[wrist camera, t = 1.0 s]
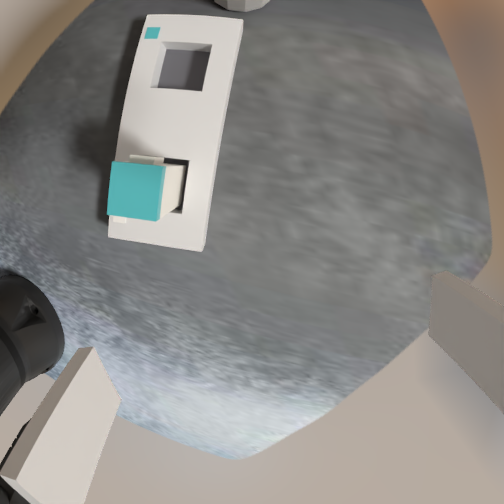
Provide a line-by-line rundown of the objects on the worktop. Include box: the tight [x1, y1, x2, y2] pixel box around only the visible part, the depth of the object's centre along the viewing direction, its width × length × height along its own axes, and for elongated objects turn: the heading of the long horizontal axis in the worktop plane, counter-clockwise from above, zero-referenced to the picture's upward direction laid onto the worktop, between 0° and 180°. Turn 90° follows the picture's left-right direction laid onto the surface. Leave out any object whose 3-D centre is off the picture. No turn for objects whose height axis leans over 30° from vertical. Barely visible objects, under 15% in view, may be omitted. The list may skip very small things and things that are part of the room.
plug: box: [107, 155, 187, 222], centre depth 26 cm, size 4×5×10 cm
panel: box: [108, 14, 243, 252], centre depth 28 cm, size 10×24×3 cm, turn 170°
